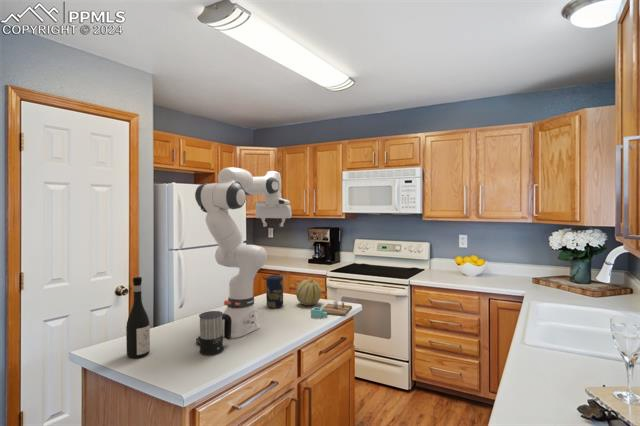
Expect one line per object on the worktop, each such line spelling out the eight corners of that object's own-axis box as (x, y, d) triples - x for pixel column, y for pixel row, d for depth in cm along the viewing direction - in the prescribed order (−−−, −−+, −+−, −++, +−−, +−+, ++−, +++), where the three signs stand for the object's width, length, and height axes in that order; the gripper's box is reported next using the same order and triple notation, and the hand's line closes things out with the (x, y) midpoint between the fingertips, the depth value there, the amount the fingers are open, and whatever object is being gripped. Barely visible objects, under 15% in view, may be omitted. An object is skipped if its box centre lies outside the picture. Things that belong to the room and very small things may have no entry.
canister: (280, 309, 204) (280, 276, 204) (263, 308, 206) (263, 276, 206) (285, 304, 214) (285, 273, 213) (269, 303, 215) (269, 272, 215)
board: (344, 316, 192) (344, 306, 191) (318, 313, 196) (318, 304, 196) (351, 307, 207) (351, 299, 206) (327, 305, 211) (327, 297, 211)
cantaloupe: (303, 300, 223) (303, 275, 222) (325, 303, 216) (325, 277, 216) (291, 306, 209) (291, 280, 209) (314, 309, 203) (314, 282, 203)
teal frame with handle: (310, 317, 189) (310, 309, 189) (314, 314, 194) (314, 307, 194) (325, 319, 187) (325, 311, 187) (328, 316, 192) (328, 308, 192)
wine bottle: (154, 351, 146) (153, 275, 145) (141, 359, 138) (140, 280, 138) (135, 350, 148) (134, 275, 147) (122, 358, 140) (120, 279, 139)
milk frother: (213, 357, 141) (213, 318, 140) (180, 351, 146) (179, 314, 146) (235, 344, 154) (234, 308, 154) (203, 339, 159) (203, 305, 159)
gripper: (253, 201, 202) (253, 226, 202) (288, 201, 197) (288, 227, 197) (257, 201, 208) (258, 225, 208) (292, 201, 203) (292, 226, 203)
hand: (273, 226), depth 203 cm, fingers open, 8 cm apart
